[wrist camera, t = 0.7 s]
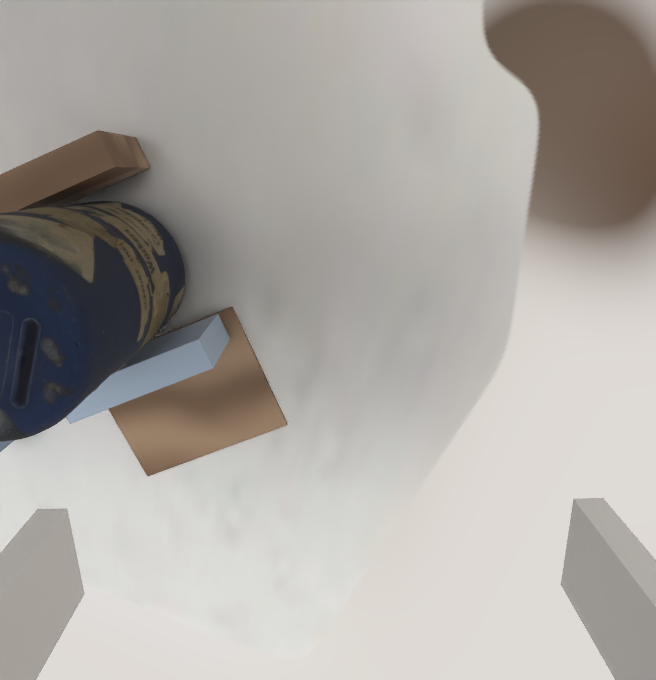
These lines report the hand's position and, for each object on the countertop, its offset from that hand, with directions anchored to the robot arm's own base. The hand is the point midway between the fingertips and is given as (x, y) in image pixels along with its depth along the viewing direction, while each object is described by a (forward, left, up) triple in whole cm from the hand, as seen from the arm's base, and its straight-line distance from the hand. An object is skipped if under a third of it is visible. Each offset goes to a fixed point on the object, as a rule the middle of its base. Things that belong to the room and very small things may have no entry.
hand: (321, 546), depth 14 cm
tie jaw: (-1, -17, -24) cm, 30 cm away
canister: (-8, -12, -25) cm, 29 cm away
